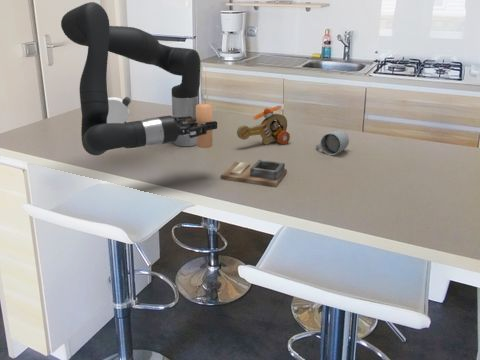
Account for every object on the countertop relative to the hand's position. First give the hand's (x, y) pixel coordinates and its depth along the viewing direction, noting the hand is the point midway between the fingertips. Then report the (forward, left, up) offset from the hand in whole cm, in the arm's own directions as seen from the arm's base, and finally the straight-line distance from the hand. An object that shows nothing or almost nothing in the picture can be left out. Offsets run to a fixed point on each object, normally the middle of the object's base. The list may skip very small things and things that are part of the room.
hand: (212, 122), depth 142 cm
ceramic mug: (+30, +35, -16) cm, 48 cm away
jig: (+12, +3, -16) cm, 20 cm away
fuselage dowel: (-2, -2, -7) cm, 7 cm away
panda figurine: (-48, +21, -16) cm, 55 cm away
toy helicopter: (+6, +34, -16) cm, 38 cm away
